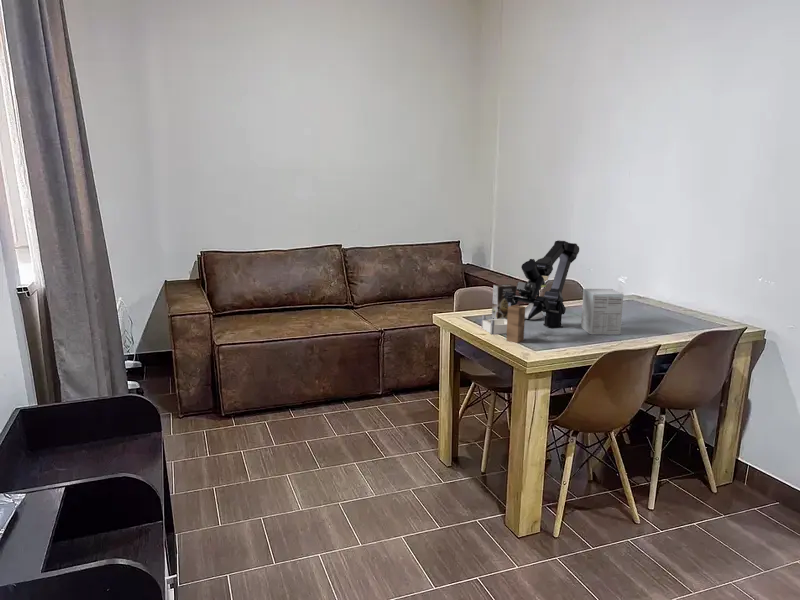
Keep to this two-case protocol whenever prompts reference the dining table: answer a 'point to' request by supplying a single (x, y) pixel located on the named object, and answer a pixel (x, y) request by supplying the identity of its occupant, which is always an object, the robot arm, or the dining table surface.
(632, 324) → the dining table surface
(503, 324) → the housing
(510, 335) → the brown block
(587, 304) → the supplement box
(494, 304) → the coffee box
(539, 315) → the flower in vase
